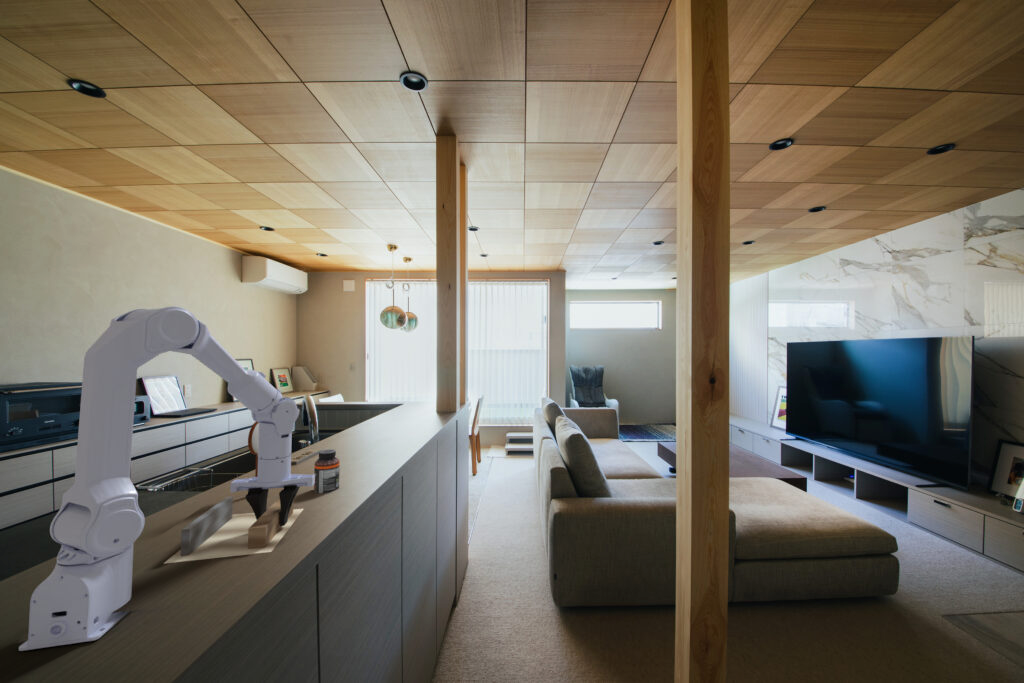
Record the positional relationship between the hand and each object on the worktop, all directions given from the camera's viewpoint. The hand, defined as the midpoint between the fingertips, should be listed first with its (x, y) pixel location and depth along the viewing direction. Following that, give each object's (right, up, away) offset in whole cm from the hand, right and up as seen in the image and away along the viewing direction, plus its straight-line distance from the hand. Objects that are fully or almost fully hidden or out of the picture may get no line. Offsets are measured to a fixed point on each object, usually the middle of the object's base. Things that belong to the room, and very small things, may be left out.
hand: (273, 524), depth 76 cm
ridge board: (-5, -2, -1) cm, 6 cm away
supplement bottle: (-1, -4, +23) cm, 24 cm away
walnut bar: (0, -1, 0) cm, 1 cm away
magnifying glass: (-16, -3, +20) cm, 26 cm away
